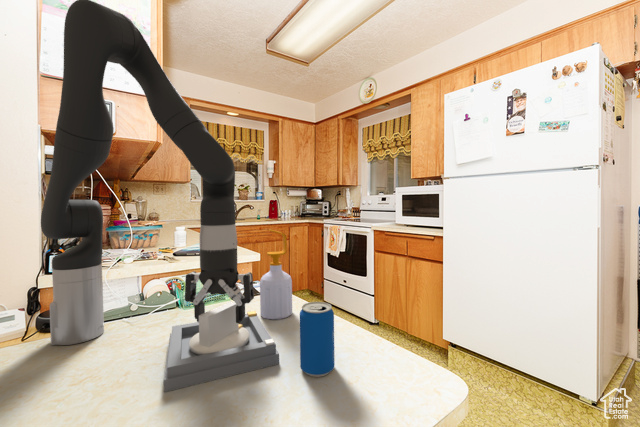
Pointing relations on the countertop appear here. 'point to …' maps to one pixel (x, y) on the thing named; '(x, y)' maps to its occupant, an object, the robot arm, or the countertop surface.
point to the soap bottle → (276, 288)
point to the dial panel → (216, 355)
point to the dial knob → (219, 331)
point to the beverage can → (317, 339)
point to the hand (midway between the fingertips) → (220, 321)
